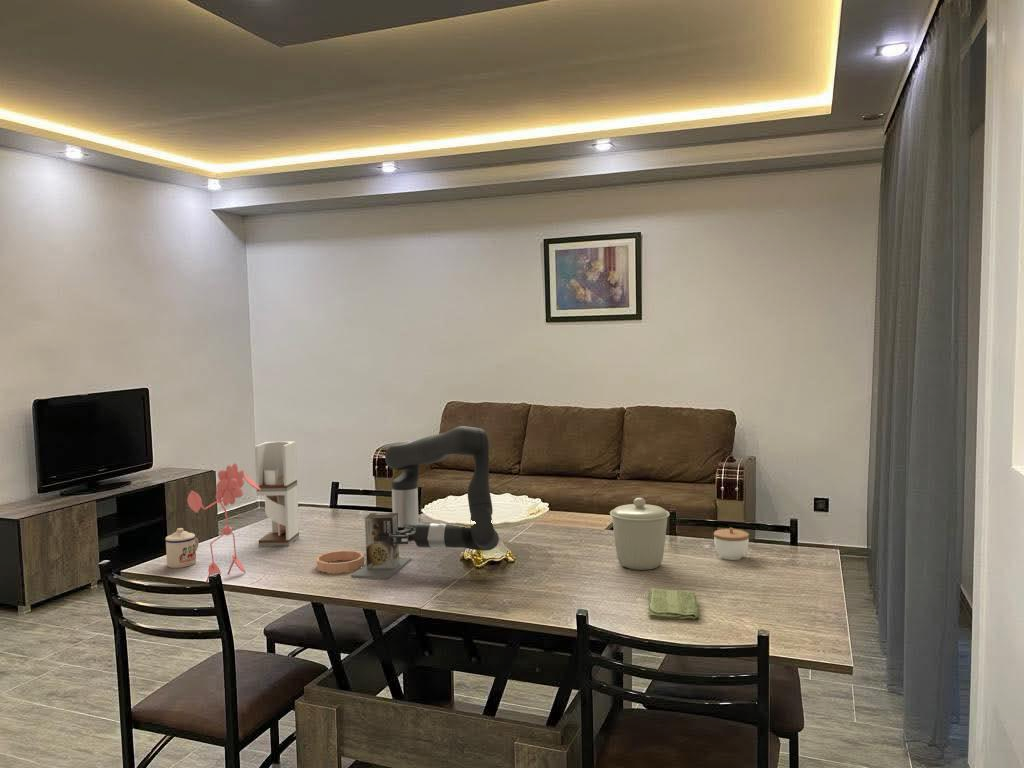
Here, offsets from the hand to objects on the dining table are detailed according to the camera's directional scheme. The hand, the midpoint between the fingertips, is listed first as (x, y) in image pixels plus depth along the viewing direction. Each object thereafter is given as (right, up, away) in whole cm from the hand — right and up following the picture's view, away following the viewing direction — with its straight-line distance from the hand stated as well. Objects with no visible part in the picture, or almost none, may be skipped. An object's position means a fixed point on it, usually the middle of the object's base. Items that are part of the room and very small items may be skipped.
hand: (383, 533), depth 240 cm
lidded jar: (+109, -9, +5) cm, 110 cm away
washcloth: (+82, -12, -39) cm, 92 cm away
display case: (-43, -10, +35) cm, 56 cm away
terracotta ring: (-14, -11, +4) cm, 18 cm away
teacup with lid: (-66, -12, +11) cm, 68 cm away
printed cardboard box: (0, -10, +1) cm, 11 cm away
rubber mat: (0, -11, +1) cm, 11 cm away
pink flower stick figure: (-43, -13, -9) cm, 45 cm away
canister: (+79, -10, -1) cm, 80 cm away
